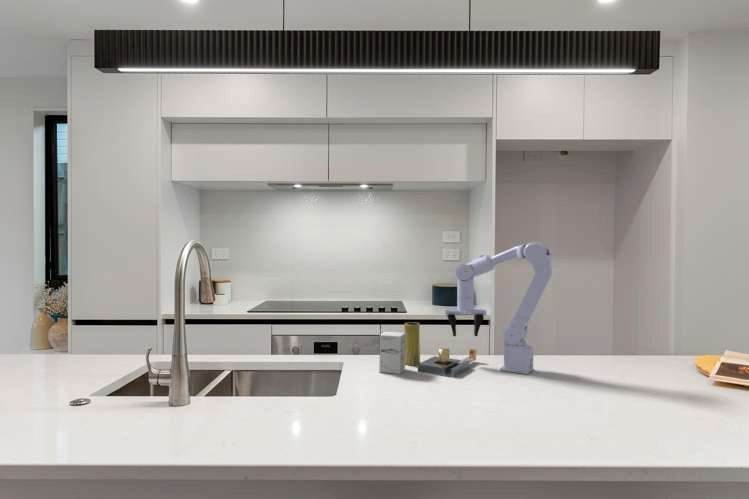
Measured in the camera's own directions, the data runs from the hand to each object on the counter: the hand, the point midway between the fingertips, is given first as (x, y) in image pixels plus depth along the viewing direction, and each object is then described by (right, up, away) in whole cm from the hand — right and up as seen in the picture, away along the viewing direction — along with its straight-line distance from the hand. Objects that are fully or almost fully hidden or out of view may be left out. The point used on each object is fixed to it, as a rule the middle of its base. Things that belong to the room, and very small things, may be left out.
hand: (465, 335), depth 181 cm
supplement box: (-26, -10, -10) cm, 30 cm away
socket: (-9, -10, -9) cm, 16 cm away
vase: (-19, -10, -1) cm, 21 cm away
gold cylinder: (-9, -10, -9) cm, 16 cm away
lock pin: (0, -9, -3) cm, 10 cm away
